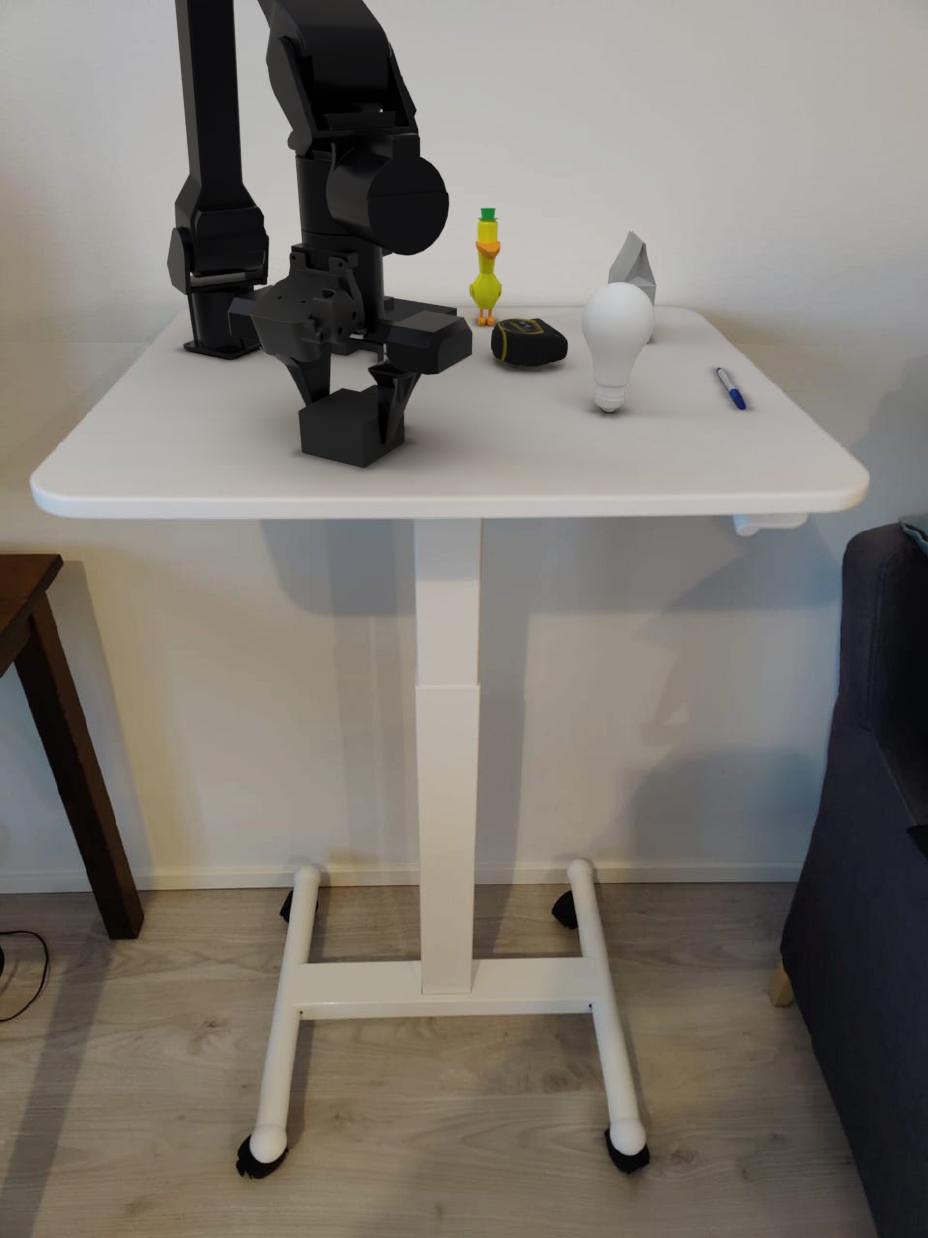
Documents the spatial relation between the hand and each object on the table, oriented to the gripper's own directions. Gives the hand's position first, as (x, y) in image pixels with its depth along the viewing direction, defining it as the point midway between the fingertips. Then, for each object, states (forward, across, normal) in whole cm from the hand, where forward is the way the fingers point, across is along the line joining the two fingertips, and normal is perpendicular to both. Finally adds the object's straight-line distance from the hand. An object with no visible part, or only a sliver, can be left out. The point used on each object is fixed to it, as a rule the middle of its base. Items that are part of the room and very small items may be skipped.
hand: (353, 434), depth 74 cm
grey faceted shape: (+1, +8, +41) cm, 42 cm away
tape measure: (+1, +3, +27) cm, 27 cm away
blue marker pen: (+1, +23, +29) cm, 37 cm away
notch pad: (+1, -12, +24) cm, 27 cm away
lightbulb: (+1, +15, +18) cm, 23 cm away
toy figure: (+1, -7, +36) cm, 37 cm away
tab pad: (+1, 0, 0) cm, 1 cm away
